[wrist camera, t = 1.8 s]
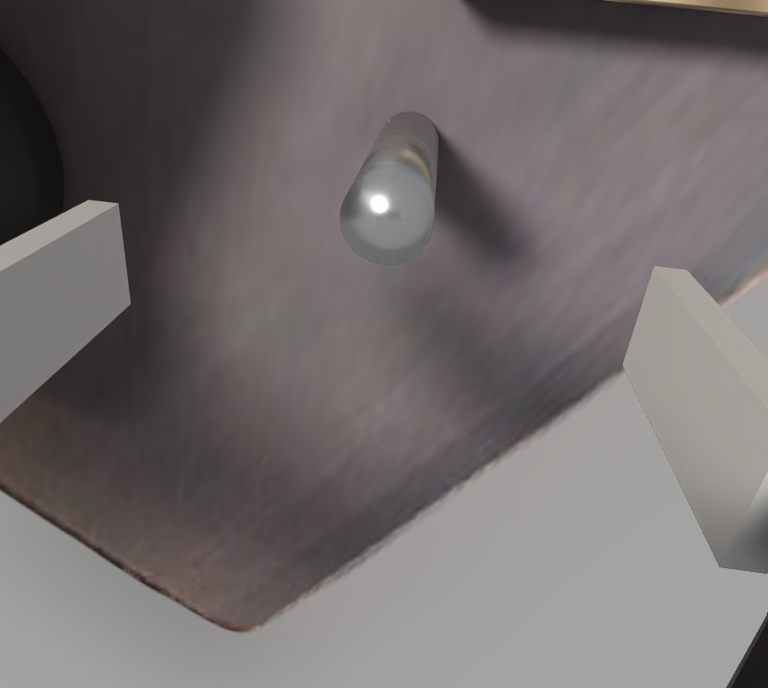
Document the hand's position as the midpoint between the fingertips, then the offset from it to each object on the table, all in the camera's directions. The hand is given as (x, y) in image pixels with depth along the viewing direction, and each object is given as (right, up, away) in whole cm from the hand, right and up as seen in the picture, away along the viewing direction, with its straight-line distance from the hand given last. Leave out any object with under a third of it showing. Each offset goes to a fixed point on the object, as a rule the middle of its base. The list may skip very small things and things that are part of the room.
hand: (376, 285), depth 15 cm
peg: (+1, +9, +16) cm, 18 cm away
